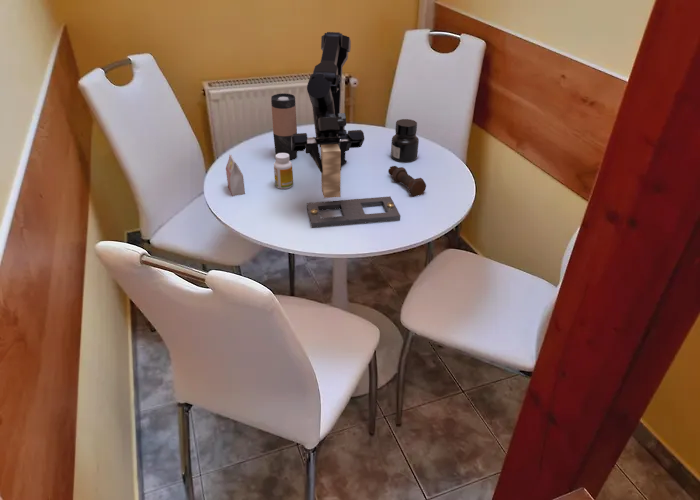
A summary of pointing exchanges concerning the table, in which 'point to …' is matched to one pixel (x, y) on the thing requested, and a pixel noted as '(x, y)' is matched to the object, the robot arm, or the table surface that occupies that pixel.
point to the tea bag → (234, 178)
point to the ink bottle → (405, 141)
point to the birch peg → (331, 170)
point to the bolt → (407, 180)
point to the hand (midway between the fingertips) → (331, 171)
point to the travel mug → (284, 123)
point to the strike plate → (352, 212)
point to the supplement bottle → (283, 171)
